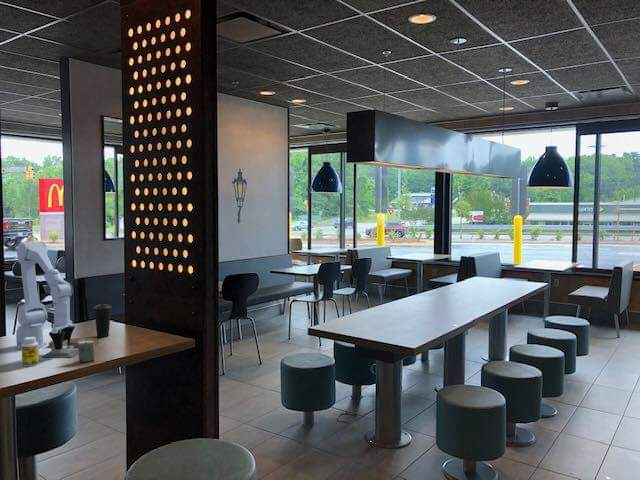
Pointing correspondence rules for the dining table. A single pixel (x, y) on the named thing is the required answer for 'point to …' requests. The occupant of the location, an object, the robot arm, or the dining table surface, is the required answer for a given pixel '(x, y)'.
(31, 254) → the robot arm
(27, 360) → the supplement bottle
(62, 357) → the mat
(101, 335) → the drinking cup
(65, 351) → the grey stepped block
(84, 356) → the small box
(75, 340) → the body
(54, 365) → the dining table surface
